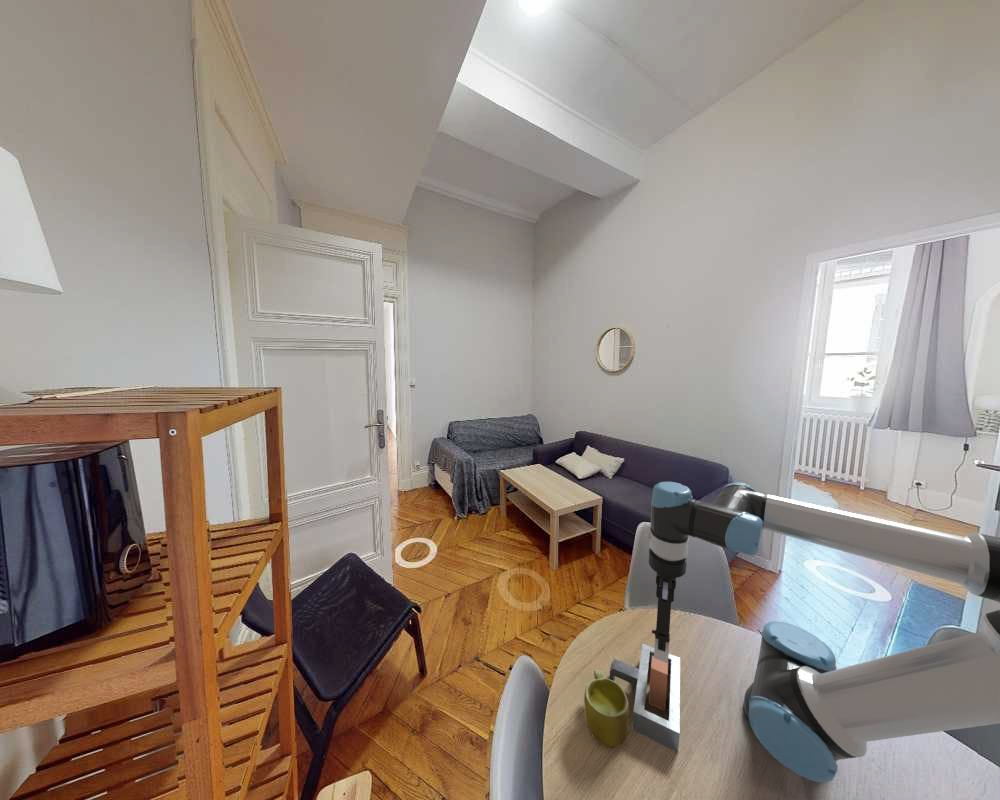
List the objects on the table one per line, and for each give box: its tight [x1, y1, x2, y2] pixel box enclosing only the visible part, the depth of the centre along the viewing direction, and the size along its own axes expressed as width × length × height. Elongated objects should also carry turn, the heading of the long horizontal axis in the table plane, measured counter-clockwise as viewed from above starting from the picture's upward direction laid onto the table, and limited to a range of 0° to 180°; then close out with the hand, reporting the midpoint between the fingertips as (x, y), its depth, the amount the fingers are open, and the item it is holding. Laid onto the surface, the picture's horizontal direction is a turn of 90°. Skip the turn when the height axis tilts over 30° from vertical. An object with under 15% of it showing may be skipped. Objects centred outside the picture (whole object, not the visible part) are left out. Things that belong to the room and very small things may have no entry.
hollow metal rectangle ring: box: [609, 643, 681, 753], centre depth 81 cm, size 16×19×5 cm
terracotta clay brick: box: [648, 656, 669, 712], centre depth 79 cm, size 4×4×10 cm
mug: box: [583, 669, 630, 749], centre depth 75 cm, size 12×10×10 cm
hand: (662, 635), depth 77 cm, fingers open, 13 cm apart
